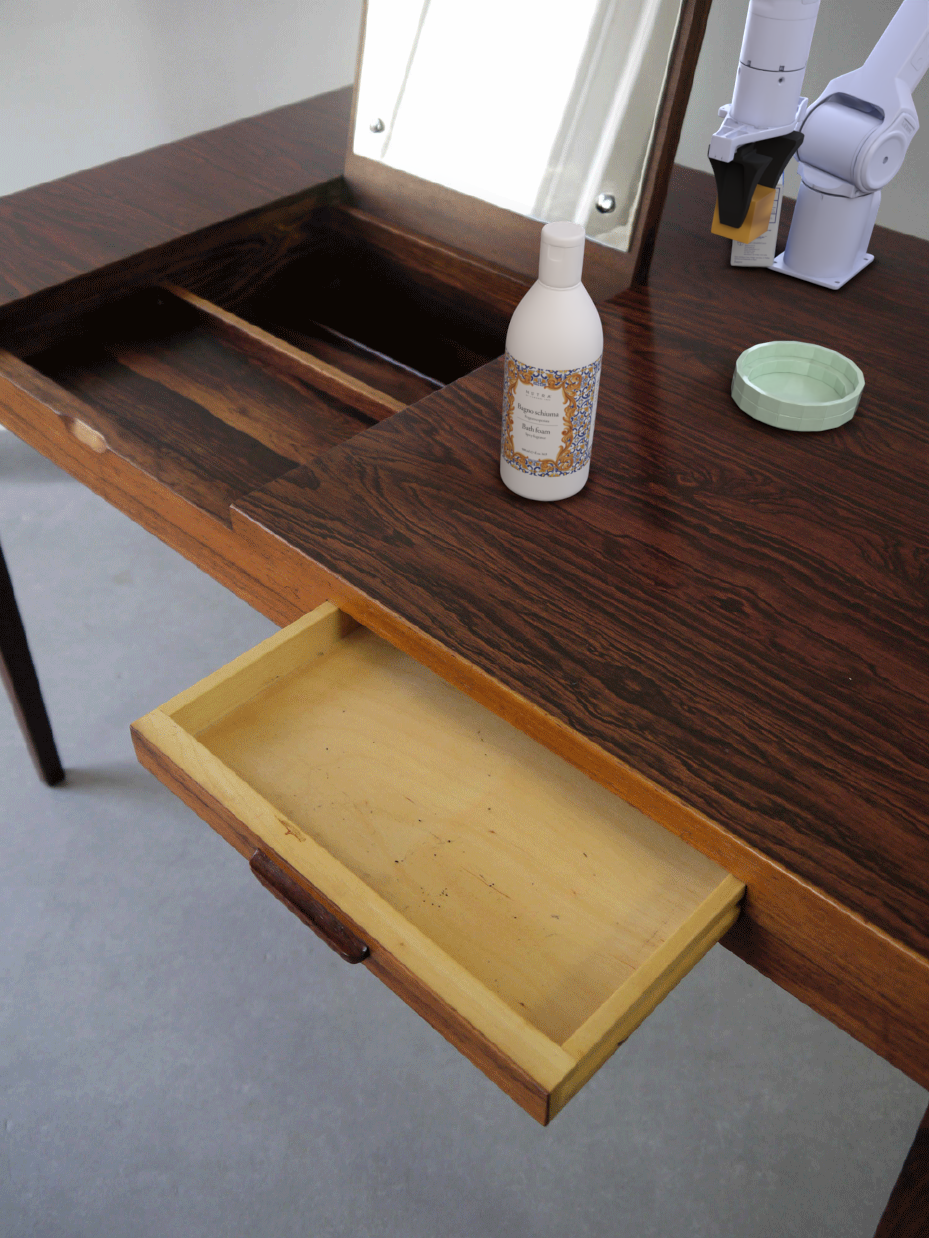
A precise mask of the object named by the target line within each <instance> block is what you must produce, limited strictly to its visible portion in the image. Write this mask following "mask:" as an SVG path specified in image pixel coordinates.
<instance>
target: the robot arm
mask: <svg viewBox="0 0 929 1238" xmlns="http://www.w3.org/2000/svg"><path fill="white" fill-rule="evenodd" d="M821 1H822V0H749V2H748V9H747V13H746V14H747V15H746V20H745V26H744V30H743V31H744V32H743V35H742V43H741V48H740V54H739V59H738V66H737V71H736V76H735V83H734V88H733V93H732V98H731V103H726V104H724V105H722V106H720V107H719V108H718V112H717V116H718V117H719V118H722V119H723V121H722V123H721V125H720V127H719V128H718V130H717V131H716V132H714V133H713V134H711V139H710V143H709V144H708V146H707V160H708V161H709V163H710V166H711V169H712V172H713V176H714V180H715V186H716V196H717V195H718V210H719V221H720V223H721V224H724V225H727V226H730V227H733V228H737V229H738V228H740V227H741V226H742V224H743V222H744V220H745V218H746V216H747V213H748V210H749V207H750V203H751V200H752V197H753V194H754V191H755V189H756V186H757V184H758V185H762V186H765V187H769V188H772V189H775V188H776V186H777V184H778V181H779V179H780V177H781V175H782V173H783V171H784V172H785V169H786V168H787V166H788V164H789V162H790V161H791V159H792V158H794V160H795V161H796V162H797V163H798V166H797V169H796V174H797V175H799V176H800V177H801V179H800V184H799V188H798V192H797V197H796V201H795V205H794V209H793V214H792V217H791V222H790V227H789V231H788V236H787V239H786V245H785V248H784V251H782V252H781V253H779V254H778V255H777V256H776V257H774V263H773V266H770V267H766V268H767V269H768V270H771V271H775V272H777V273H781V274H784V275H787V276H790V277H794V278H796V279H800V280H803V281H806V282H809V283H812V284H815V285H818V286H821V287H823V288H824V287H825V288H828V289H831V290H839V289H840V288H841V287H843V286H844V285H845V284H846V283H848V282H849V281H850V280H851V279H852V278H854V277H855V276H856V275H857V274H859V273H860V272H861V271H862V270H864V269H865V268H866V267H867V266H868V265H870V264H871V263H872V262H873V261H874V259H875V256H874V255H873V254H871V253H868V248H869V244H870V241H871V237H872V234H873V230H874V226H875V223H876V220H877V216H878V213H879V209H880V206H881V202H882V190H883V188H885V186H886V185H888V184H889V183H890V182H891V181H892V180H893V179H894V178H895V176H896V175H897V173H898V172H899V171H900V169H901V167H902V165H903V163H904V161H905V158H906V154H907V151H908V149H909V147H910V144H911V142H912V140H913V138H914V137H915V135H916V133H917V132H918V130H919V129H920V121H919V116H918V112H917V109H916V106H915V103H914V100H913V99H914V98H913V95H912V94H913V93H914V91H915V89H916V88H917V87H918V85H919V84H920V82H921V80H922V79H923V77H924V75H926V73H927V71H928V70H929V0H903V1H902V3H901V5H900V6H899V8H898V9H897V11H896V12H895V14H894V16H893V17H892V19H891V20H890V22H889V23H888V25H887V27H886V28H885V30H884V32H883V33H882V34H881V37H880V38H879V40H878V41H877V42H876V44H875V46H874V47H873V49H872V51H871V52H870V53H869V56H868V57H867V58H866V60H865V62H863V65H862V66H860V67H859V68H856V69H854V70H851V71H849V72H847V73H844V74H841V75H839V76H837V77H834V78H833V79H831V80H830V81H829V82H828V84H827V86H826V87H825V88H824V90H823V92H822V93H821V94H820V95H819V97H817V99H816V100H815V101H814V102H812V103H811V104H809V98H808V97H805V96H801V92H802V89H803V84H804V78H805V74H806V70H807V64H808V60H809V55H810V51H811V45H812V41H813V36H814V31H815V29H816V28H815V27H816V23H817V18H818V15H819V10H820V5H821ZM808 104H809V106H808Z"/></svg>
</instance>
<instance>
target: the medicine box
mask: <svg viewBox="0 0 929 1238" xmlns="http://www.w3.org/2000/svg"><path fill="white" fill-rule="evenodd" d="M784 187H785V170H784V171H783V173H782V175H781V177H780V179H779V181H778V184H777V186H776V188H775V189H776V193H775V198H774V203H773V207H772V212H771V217H770V221H769V226H768V230H767V232H765V233H764V234H762V235H761V236H759V237H758V238H756V239H755V240H753V241H752V242H750V243H749V244H745V243H742V242H739V241H736V240H733V239H732V246H731V255H730V266H733V267H742V268H743V267H744V268H746V267H748V268H767V267H770V266H773V263H774V258H775V255H776V246H777V239H778V233H779V225H780V218H781V210H782V203H783V195H784Z"/></svg>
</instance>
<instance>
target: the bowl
mask: <svg viewBox="0 0 929 1238" xmlns="http://www.w3.org/2000/svg"><path fill="white" fill-rule="evenodd" d="M865 385H866V382H865V377H864V373H863V371H862V370H861V369H860V368H859V366H857V363H855V362H854V361H853V359H852V360H851V359H850V358H848V357H846V356H845V355H844V354H842V353H840V352H838V351H836V350H833V349H831V348H827V347H824V346H822V345H819V344H815V343H809V342H803V341H797V340H773V341H769V342H763V343H758V344H755V345H753V346H751V347H749V348H747V349H745V350H744V351H742V353H741V354H740V355H739V356H738V358H737V360H736V361H735V366H734V370H733V375H732V380H731V385H730V391H731V392H730V393H731V398H732V399H733V401H734V402H735V404H736V405H737V406H738V408H739V409H740V410H741V411H742V412H744V413H746V414H747V415H748V416H750V417H752V418H753V419H755V420H757V421H760V422H761V423H763V424H766V425H769V426H771V427H774V428H777V429H781V430H786V431H793V432H822V431H827V430H831V429H835V428H839V427H841V426H842V425H844V424H846V423H847V422H849V421H851V420H852V419H853V418H854V416H855V415H856V412H857V410H858V408H859V404H860V401H861V397H862V395H863V392H864V389H865Z"/></svg>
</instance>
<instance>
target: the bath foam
mask: <svg viewBox="0 0 929 1238" xmlns="http://www.w3.org/2000/svg"><path fill="white" fill-rule="evenodd" d="M540 231H541V232H540V244H539V245H540V246H539V259H538V278H537V279H536V281H535V282H534V283H533V284H532V286H531V287H530V289H528V291H527V292H526V294H525V295H524V296H523V297H522V299H521V300H520V302H519V303H518V305H517V306H516V307H515V310H514V311H513V314H512V316H511V319H510V323H509V325H508V327H507V328H508V329H507V333H506V339H505V346H504V347H505V349H504V368H503V369H504V372H503V389H502V390H503V393H502V414H501V418H502V419H501V437H500V465H499V471H500V472H499V473H500V478H501V480H502V482H503V483H504V485H505V486H506V487H507V488H508V489H509V490H510V491H511V492H513V493H515V494H516V495H518V496H520V497H522V498H525V499H528V500H533V501H539V502H554V501H555V502H556V501H561V500H564V499H567V498H571V497H572V496H574V495H577V493H579V492H580V491H581V490H582V489H583V488H584V486H585V485H586V483H587V482H588V478H589V472H590V463H591V457H592V449H593V440H594V434H595V433H594V431H595V423H596V416H597V406H598V397H599V389H600V380H601V372H602V363H603V355H604V333H603V325H602V321H601V316H600V315H599V312H598V309H597V307H596V305H595V303H594V302H593V299H592V298H591V295H590V294H589V293H588V291H587V288H585V286H584V284H583V282H582V276H583V275H582V273H583V265H584V255H585V244H586V230H585V228H584V227H583V226H582V225H581V224H578V223H577V222H573V221H568V220H557V221H551V222H548V223H546V224H544V226H543V227H542V228H541V230H540Z"/></svg>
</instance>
